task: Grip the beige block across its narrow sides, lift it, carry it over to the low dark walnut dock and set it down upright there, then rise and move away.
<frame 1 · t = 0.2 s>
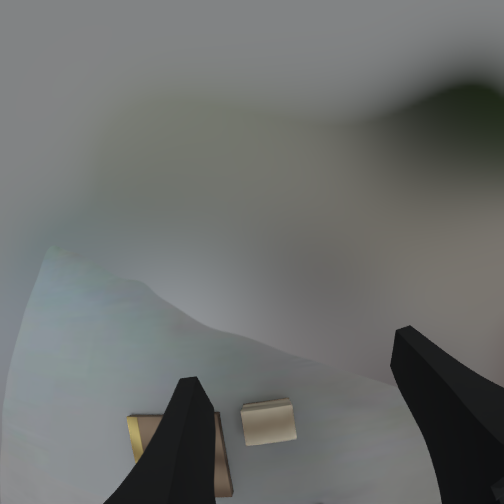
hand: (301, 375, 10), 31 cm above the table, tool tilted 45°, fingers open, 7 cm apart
beige block: (268, 416, 37), on the table
dock: (181, 455, 35), on the table
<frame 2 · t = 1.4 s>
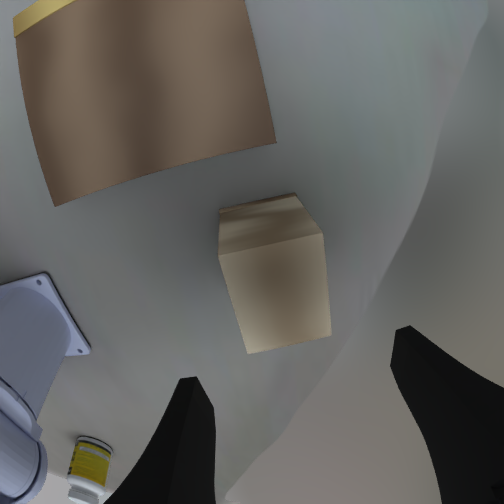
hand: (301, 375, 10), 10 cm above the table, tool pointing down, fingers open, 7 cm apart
beige block: (266, 245, 19), on the table
supplement bottle: (95, 443, 31), on the table
dock: (133, 62, 13), on the table
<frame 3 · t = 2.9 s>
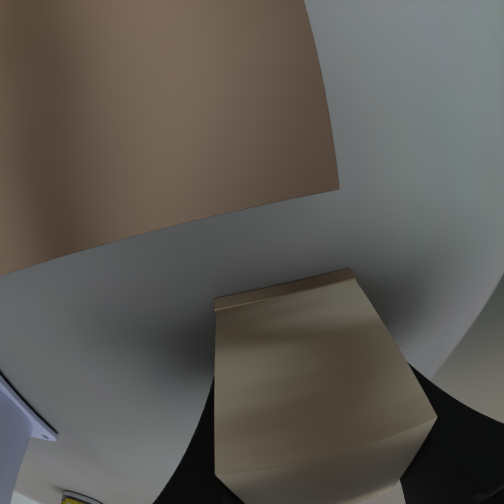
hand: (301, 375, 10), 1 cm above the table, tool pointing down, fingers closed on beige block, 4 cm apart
beige block: (294, 347, 11), on the table, touching gripper
supplement bottle: (83, 497, 23), on the table
dock: (51, 30, 5), on the table
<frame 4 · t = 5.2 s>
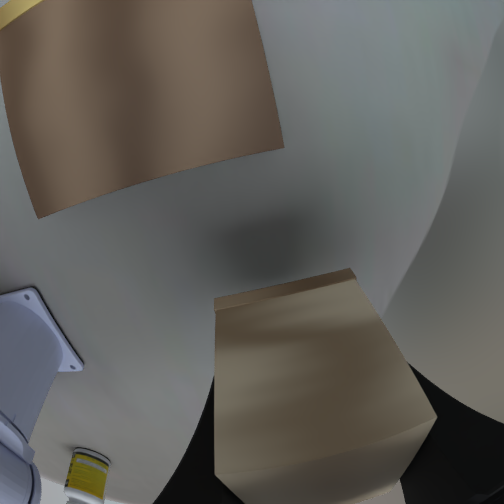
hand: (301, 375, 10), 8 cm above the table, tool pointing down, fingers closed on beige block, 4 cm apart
beige block: (294, 347, 11), point 7 cm above the table, touching gripper
supplement bottle: (92, 455, 29), on the table
dock: (122, 57, 12), on the table
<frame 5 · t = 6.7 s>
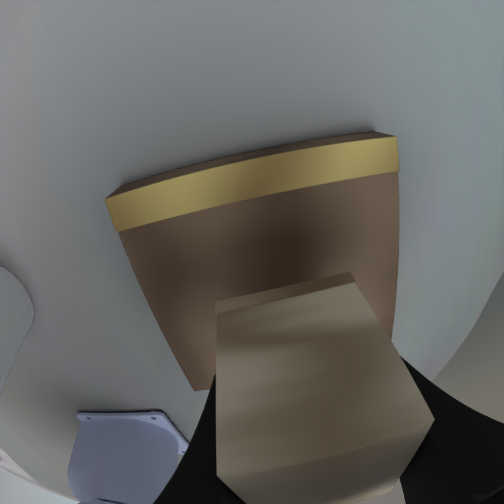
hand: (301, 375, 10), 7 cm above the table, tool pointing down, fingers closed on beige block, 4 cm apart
beige block: (294, 349, 11), point 6 cm above the table, touching gripper
shot glass: (6, 296, 16), on the table
dock: (273, 270, 17), on the table
when the fingers open (4 cm above the table, at t = 7.8 s): beige block stays where it is, resting on dock.
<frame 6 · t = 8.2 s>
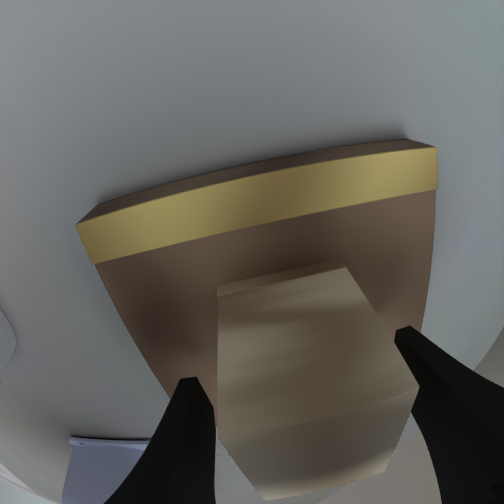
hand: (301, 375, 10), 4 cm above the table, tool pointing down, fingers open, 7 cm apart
beige block: (291, 333, 12), point 2 cm above the table, touching dock
dock: (282, 302, 14), on the table
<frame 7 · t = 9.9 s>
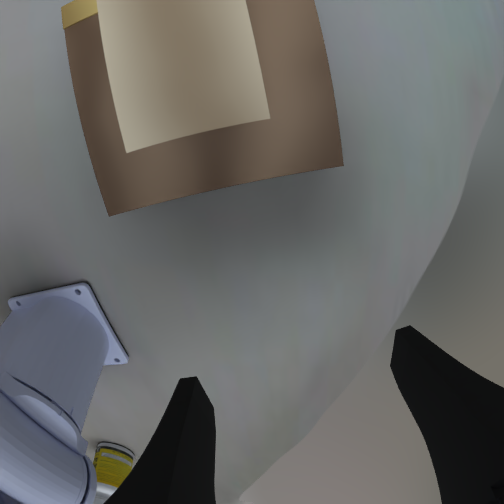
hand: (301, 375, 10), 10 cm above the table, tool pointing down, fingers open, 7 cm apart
beige block: (196, 67, 12), point 2 cm above the table, touching dock
supplement bottle: (116, 449, 32), on the table
dock: (198, 70, 14), on the table
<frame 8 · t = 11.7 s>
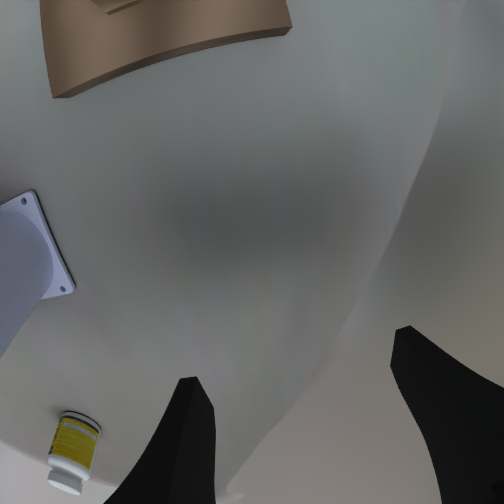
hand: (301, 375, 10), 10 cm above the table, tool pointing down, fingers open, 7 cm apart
supplement bottle: (81, 421, 28), on the table
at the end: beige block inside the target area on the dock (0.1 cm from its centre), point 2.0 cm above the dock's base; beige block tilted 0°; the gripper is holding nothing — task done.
